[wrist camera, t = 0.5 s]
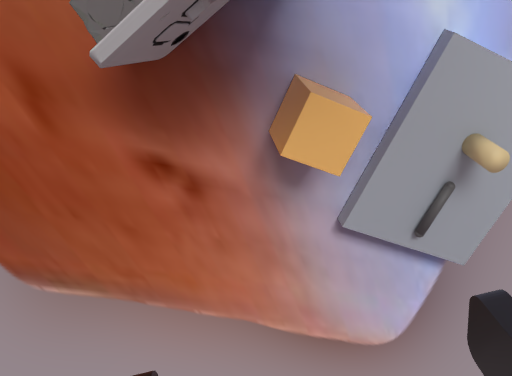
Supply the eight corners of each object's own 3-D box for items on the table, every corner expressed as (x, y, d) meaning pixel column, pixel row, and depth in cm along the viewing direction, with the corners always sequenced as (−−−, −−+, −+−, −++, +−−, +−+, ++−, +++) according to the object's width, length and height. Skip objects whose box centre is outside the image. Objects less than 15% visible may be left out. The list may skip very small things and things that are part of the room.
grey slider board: (444, 29, 36) (480, 40, 32) (571, 93, 40) (619, 111, 36) (337, 218, 43) (355, 249, 39) (456, 256, 47) (484, 288, 43)
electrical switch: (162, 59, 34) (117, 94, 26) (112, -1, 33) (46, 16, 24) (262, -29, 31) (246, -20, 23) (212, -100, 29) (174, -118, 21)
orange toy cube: (295, 74, 36) (310, 92, 32) (349, 96, 38) (372, 116, 33) (268, 131, 38) (280, 155, 34) (321, 150, 40) (339, 176, 35)
